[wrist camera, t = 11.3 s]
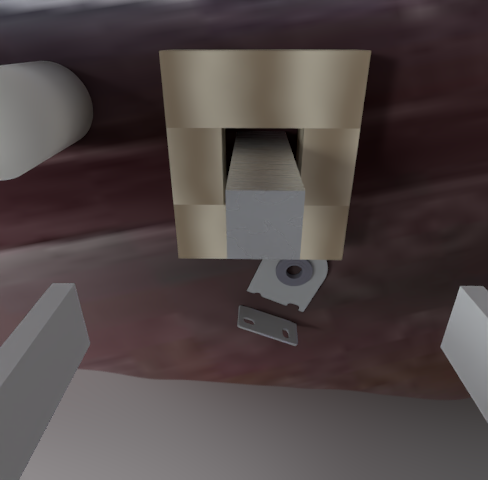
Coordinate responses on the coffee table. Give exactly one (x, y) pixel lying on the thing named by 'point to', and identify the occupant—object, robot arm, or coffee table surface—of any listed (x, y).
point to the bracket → (282, 295)
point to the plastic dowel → (39, 114)
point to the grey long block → (264, 198)
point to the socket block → (262, 116)
